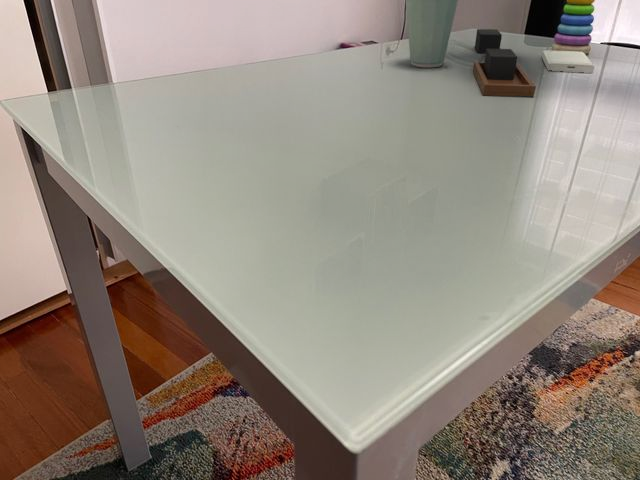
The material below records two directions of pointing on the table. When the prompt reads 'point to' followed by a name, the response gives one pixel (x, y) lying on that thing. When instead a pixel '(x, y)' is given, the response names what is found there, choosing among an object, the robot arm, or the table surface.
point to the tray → (504, 83)
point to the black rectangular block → (500, 64)
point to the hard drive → (567, 61)
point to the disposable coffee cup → (429, 30)
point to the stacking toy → (575, 27)
